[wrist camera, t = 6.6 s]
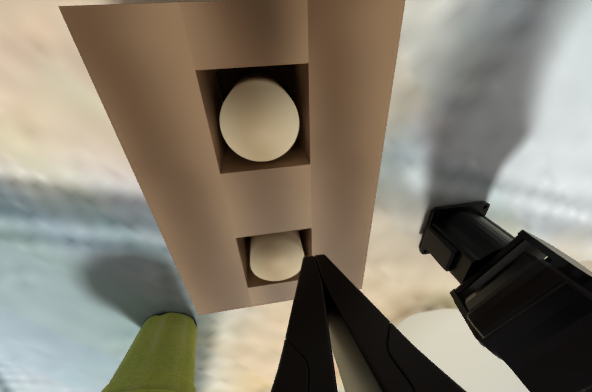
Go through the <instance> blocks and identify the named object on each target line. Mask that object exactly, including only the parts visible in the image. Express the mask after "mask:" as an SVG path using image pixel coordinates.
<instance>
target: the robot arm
mask: <svg viewBox="0 0 592 392" xmlns="http://www.w3.org/2000/svg"><path fill="white" fill-rule="evenodd" d="M489 206H490V204H489V203H487V202H485V201H482V202H475V203H467V204H460V205H452V206H444V207H437V208H434V209H433V210H432V211H431V214H430V217H429V220H428V224H427V227H426V230H425V233H424V237H423V240H422V243H421V246H420V249H419V251H420V252H421V253H422V254H431V255H432V256H433V257H434V258H435V260H436V261H437V262H438V263H439V264H440V265H441V266H442V268H443V269H444V270H445V271H450V273H451V274H452V275H453V276H454V277H455V278H456V279H457V280H458V282H459V283H460V284H461V285H460V286H458V287H457V288H456V289H453V290H452V291H451V292H450V294H451V296H452V298H453V299H454V302H455V304H456V306H457V307H458V309H459V311H460V312H461V314H462V316H463V317H464V319H465V321H466V323H467V324H468V326H469V328H470V329H471V331H472V333H473V335H474V336H475V338H476V339H477V340H478V341H479V342H480V344H481V345H483V346H484V347H486V348H487V349H488V350H489V351H491V352H492V353H493V354H494V355H496V356H497V357H498V358H500V359H502V360H503V361H504V362H505V363H506V364H507V365H508V366H509V367H510V368H511V369H512V370H513V372H514V373H515V374H516V375H517V376H518V378H519V379H520V380H521V381H522V383H523V384H524V385H525V386H526V388H527V389H528V390H529V391H530V392H592V272H591V271H589V270H588V269H587V268H585V267H584V266H583V265H581V264H580V263H579V262H577V261H576V260H574V259H572V258H571V257H569V256H568V255H566V254H565V253H563V252H561V251H560V250H558V249H557V248H555V247H553V246H552V245H550V244H549V243H547V242H545V241H543V240H541V239H539V238H537V237H536V236H534V235H532V234H530V233H528V232H526V231H524V230H521V231H520V232H519V233H518V236H516V237H513V236H512V235H511V234H509V233H508V232H506V231H505V230H504V229H502V228H501V227H499V226H498V225H497V224H495V223H494V222H492V221H491V220H490V219H488V218H487V217H485V215H486V213H487V211H488V208H489ZM547 256H548V257H547ZM545 257H547V258H546V259H544V258H545ZM331 347H332V348H331ZM332 350H333V353H334V357H335V360H336V363H337V366H338V369H339V373H340V376H341V379H342V382H343V386H344V389H345V392H466V391H465V390H464V389H462V388H461V387H460V386H459V385H458V384H457V383H456V382H454V381H453V380H452V379H451V378H450V377H449V376H448V375H446V374H445V373H444V372H443V371H442V370H440V369H439V368H438V367H437V366H436V365H435V364H434V363H433V362H431V361H430V360H429V359H428V358H427V357H426V356H425V355H424V354H423V353H421V352H420V351H419V350H418V349H417V348H416V347H415V346H414V345H413V344H412V343H411V342H410V341H409V340H408V339H407V338H406V337H404V335H402V333H401V332H400V331H399V330H398V329H397V328H396V327H395V326H394V325H393V324H392V323H390V321H389V320H388V319H387V318H386V317H385V316H384V315H383V314H382V313H381V312H380V311H379V310H378V309H377V308H376V307H375V306H374V305H373V304H372V303H371V302H370V301H369V300H368V298H367V297H366V296H365V295H364V294H363V293H362V292H361V291H360V290H359V289H358V288H357V287H356V286H355V285H354V284H353V283H352V282H351V281H350V280H349V279H348V278H347V277H346V276H345V275H344V274H343V273H342V272H341V271H340V270H339V269H338V268H337V266H336V265H335V264H334V263H333V262H332V261H331V260H330V259H329V258H328V257H327V256H326V255H324V254H320V255H315V256H304V257H303V260H302V265H301V269H300V274H299V278H298V283H297V287H296V292H295V297H294V301H293V306H292V310H291V315H290V319H289V324H288V328H287V333H286V340H285V341H284V346H283V351H282V355H281V359H280V363H279V367H278V370H277V374H276V377H275V380H274V383H273V386H272V389H271V392H338V391H337V384H336V377H335V369H334V362H333V355H332Z"/></svg>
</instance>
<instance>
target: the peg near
mask: <svg viewBox="0 0 592 392" xmlns="http://www.w3.org/2000/svg"><path fill="white" fill-rule="evenodd" d="M220 128H221V132H222V135H223V137H224V139H225V141H226V143H227V144H228V145H229V147H230V148H231V149H232V150H233V151H234V152H236V153H237V154H238V155H240V156H242V157H244V158H246V159H249V160H252V161H260V162H261V161H270V160H273V159H276V158H278V157H280V156H282V155H283V154H285V153H286V152H287V151H288V150H289V149H290V148H291V146H292V145H293V144H294V142H295V140H296V138H297V135H298V131H299V116H298V111H297V109H296V106H295V104H294V102H293V101H292V99H291V98H290V97H289V95H288V94H287V93H286V91H285V90H284V89H283V88H282V86H281V85H280V84H279V83H278V82H277V81H276V80H275V79H273V78H272V77H270V76H267V75H264V74H250V75H247V76H245V77H243V78H241V79H240V80H239V81H238V82H237V83H236V84H235V85H234V87H233V88H232V90H231V91H230V93H229V95H228V96H227V98H226V99H225V101H224V103H223V105H222V108H221V112H220Z"/></svg>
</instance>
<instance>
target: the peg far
mask: <svg viewBox="0 0 592 392" xmlns="http://www.w3.org/2000/svg"><path fill="white" fill-rule="evenodd" d="M303 257H304V252H303V248H302V244H301V240H300V236H299V231H298V230H293V231H285V232H278V233H270V234H263V235H255V236H251V247H250V267H251V270H252V271H253V273H254V274H255V275H256V276H258V277H259V278H261V279H264V280H268V281H281V280H285V279H288V278H291V277H293V276H294V275H296V274H297V273H298V272H299V271H300V269H301V265H302V260H303Z"/></svg>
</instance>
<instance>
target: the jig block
mask: <svg viewBox="0 0 592 392" xmlns="http://www.w3.org/2000/svg"><path fill="white" fill-rule="evenodd" d="M404 6H405V0H226V1H197V2H168V3H140V4H111V5H82V6H58V7H59V9H60V11H61V13H62V15H63V18H64V20H65V22H66V24H67V26H68V29H69V31H70V33H71V35H72V37H73V40H74V42H75V44H76V46H77V49H78V51H79V53H80V55H81V57H82V60H83V62H84V64H85V66H86V68H87V71H88V73H89V75H90V77H91V79H92V82H93V84H94V86H95V88H96V90H97V93H98V95H99V97H100V99H101V101H102V104H103V106H104V108H105V110H106V112H107V115H108V117H109V119H110V121H111V123H112V126H113V128H114V130H115V132H116V135H117V137H118V139H119V141H120V143H121V146H122V148H123V150H124V152H125V154H126V157H127V159H128V161H129V163H130V165H131V168H132V170H133V172H134V174H135V176H136V179H137V181H138V183H139V185H140V187H141V190H142V192H143V194H144V196H145V198H146V201H147V203H148V205H149V207H150V210H151V212H152V214H153V216H154V218H155V221H156V223H157V225H158V227H159V229H160V232H161V234H162V236H163V238H164V240H165V243H166V245H167V247H168V249H169V251H170V254H171V256H172V258H173V260H174V262H175V265H176V267H177V269H178V271H179V273H180V276H181V278H182V280H183V282H184V284H185V287H186V289H187V291H188V293H189V296H190V298H191V300H192V302H193V304H194V307H195V309H196V311H197V313H198V315H202V314H208V313H215V312H221V311H227V310H233V309H239V308H245V307H251V306H258V305H264V304H270V303H276V302H282V301H288V300H294V297H295V292H296V287H297V283H298V278H299V274H300V271H299V272H298V273H297V274H296V275H294V276H293V277H291V278H288V279H285V280H281V281H268V280H264V279H261V278H259V277H258V276H256V275H255V274H254V273H253V271H252V270H251V267H250V247H251V237H250V238H249V236H255V235H263V234H270V233H278V232H285V231H293V230H300V231H299V236H300V240H301V244H302V248H303V252H304V256H315V255H320V254H324V255H326V256H327V257H328V258H329V259H330V260H331V261H332V262H333V263H334V264H335V265H336V266H337V268H338V269H339V270H340V271H341V272H342V273H343V274H344V275H345V276H346V277H347V278H348V279H349V280H350V281H351V282H352V283H353V284H354V285H355V286H356V287H357V288H358V289H362V283H363V277H364V270H365V263H366V257H367V250H368V244H369V237H370V230H371V224H372V217H373V211H374V204H375V197H376V191H377V184H378V178H379V171H380V164H381V158H382V151H383V145H384V138H385V131H386V125H387V118H388V111H389V105H390V98H391V92H392V85H393V78H394V72H395V65H396V59H397V52H398V45H399V39H400V32H401V26H402V19H403V12H404ZM288 64H292V71H293V91H294V104H295V106H296V109H297V111H298V116H299V131H298V135H297V138H296V140H295V142H294V144H293V145H292V146H291V148H290V149H289V150H288V151H287V152H286V153H285V154H283V155H282V156H280V157H278V158H276V159H273V160H270V161H261V162H260V161H252V160H249V159H246V158H244V157H242V156H240V155H238V154H237V153H236V152H234V151H233V150H232V149H231V148H230V147H229V145H228V144H227V143H226V141H225V139H224V137H223V135H222V132H221V128H220V112H221V108H222V105H223V104H222V99H221V94H220V89H219V84H218V79H217V74H216V69H224V68H240V67H256V66H272V65H288Z"/></svg>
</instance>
